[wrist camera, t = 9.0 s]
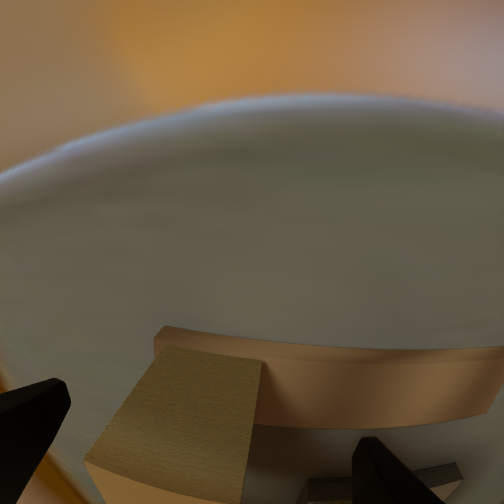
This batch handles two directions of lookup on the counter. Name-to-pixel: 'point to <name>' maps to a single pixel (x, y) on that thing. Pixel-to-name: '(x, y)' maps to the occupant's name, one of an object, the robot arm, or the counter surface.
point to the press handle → (180, 432)
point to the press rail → (357, 381)
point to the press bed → (340, 490)
